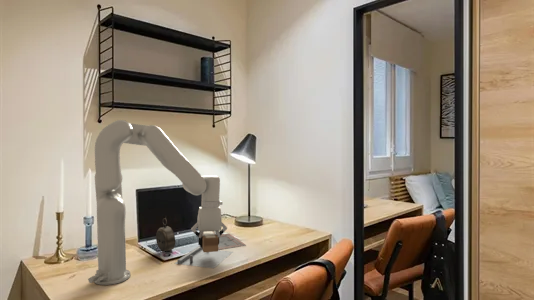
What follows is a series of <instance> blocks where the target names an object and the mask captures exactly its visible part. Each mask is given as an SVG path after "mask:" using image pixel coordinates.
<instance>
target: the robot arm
mask: <svg viewBox="0 0 534 300" xmlns="http://www.w3.org/2000/svg"><path fill="white" fill-rule="evenodd" d="M123 144H128V145H129V144H130V145H135V146H146V147H147V149H149V151H150V152H151V153H152V154H153V155H154V157H156V159H157V160H158V161H159V162H160V163H161V165H162V166H164V168H166V169H167V170H168V171H169V172H170V173H172V174H173V175H175V177H176V178H177V179H178V180H179V181H180V182H181V183H182V188H183V189H184V190H185V191H186V192H187V193H190V195H193V196H200V195H201V206H199V209H198V211H197V213H198V214H197V221H196V223H195V224H194V225H193V226H192V227H190V228H191V229H190V231H192V233H194V235H196V236H197V237H198V246H200V247H201V248H202V235H203V232H207V231H214V232H215V233H216V235H217V236H218V238H219V237H220V236H221V235H222V234H225V231H227V229H228V227H227V226H226V225H225V224H224V222H223V221H222V210H221V207H220V206H222V205H223V201H221V200H220V186H221V178H220V176H218V175H214V174H213V175H209V174H208V175H201V173H200V172H199V171H198V170H197V169H196V168H195V167H194V165H193V164H192V163H191V162H190V161H189V160H188V159H187V158H186V156H184V155H183V153H182V152H181V151H180V150H179V149H178V148H177V147H176V146H175V144H174V143H173V142H172V140H171V139H170V138H169V136H167V135H166V133H165V132H164V131H163V130H162V129H161V127H158V126H157V125H153V124H151V125H150V124H149V125H146V124H145V125H144V124H139V123H138V124H137V123H131V122H128V121H126V120H123V119H117V120H115V121H113V122H111V123H109V124H107V125H106V126H105V127H103V128H102V129H101V131H100V132H99V134H98V135H97V137H96V140H95V143H94V166H95V167H94V168H95V174H94V187H95V198H96V199H95V200H96V224H97V226H96V227H97V234H96V237H97V267H98V268H97V269H96V270H95V274H94V275H92V276H90V277H89V278H88V279H87V281H88V283H89V284H92V283H94V284H96V285H100V286H110V285H111V286H112V285H115V284H116V285H117V284H120V283H123V282H125V281H126V280H128V279H129V278H130V277H131V271H130V270H128V269H127V261H126V260H127V258H126V257H127V252H126V248H127V247H126V213H127V211H126V205H125V204H126V203H125V201H124V199H123V189H122V188H123V187H122V182H123V175H122V168H121V147H122V145H123ZM196 229H197V230H196ZM218 244H219V242H218Z"/></svg>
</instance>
